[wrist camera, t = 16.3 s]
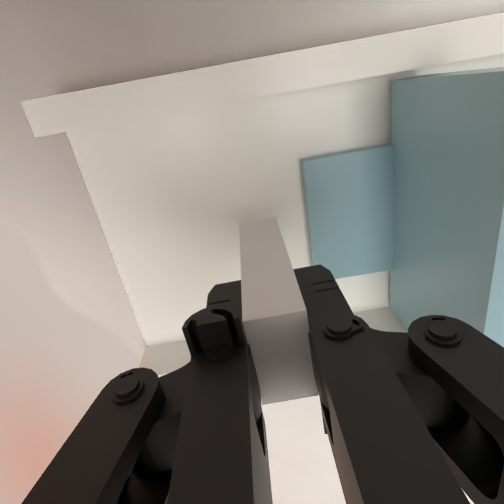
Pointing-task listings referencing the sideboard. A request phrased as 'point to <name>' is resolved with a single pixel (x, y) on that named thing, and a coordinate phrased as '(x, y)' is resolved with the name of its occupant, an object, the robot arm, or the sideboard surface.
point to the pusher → (422, 201)
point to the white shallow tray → (238, 161)
